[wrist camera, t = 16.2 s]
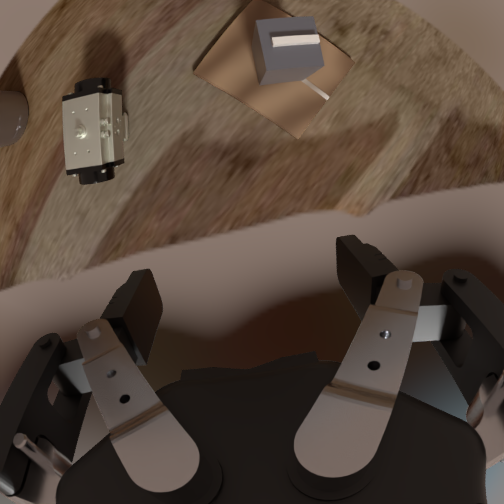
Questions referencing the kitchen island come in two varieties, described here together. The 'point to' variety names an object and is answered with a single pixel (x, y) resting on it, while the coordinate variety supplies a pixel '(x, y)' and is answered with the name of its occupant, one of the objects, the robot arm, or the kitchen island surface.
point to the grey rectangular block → (286, 49)
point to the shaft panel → (271, 95)
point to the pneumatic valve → (94, 130)
